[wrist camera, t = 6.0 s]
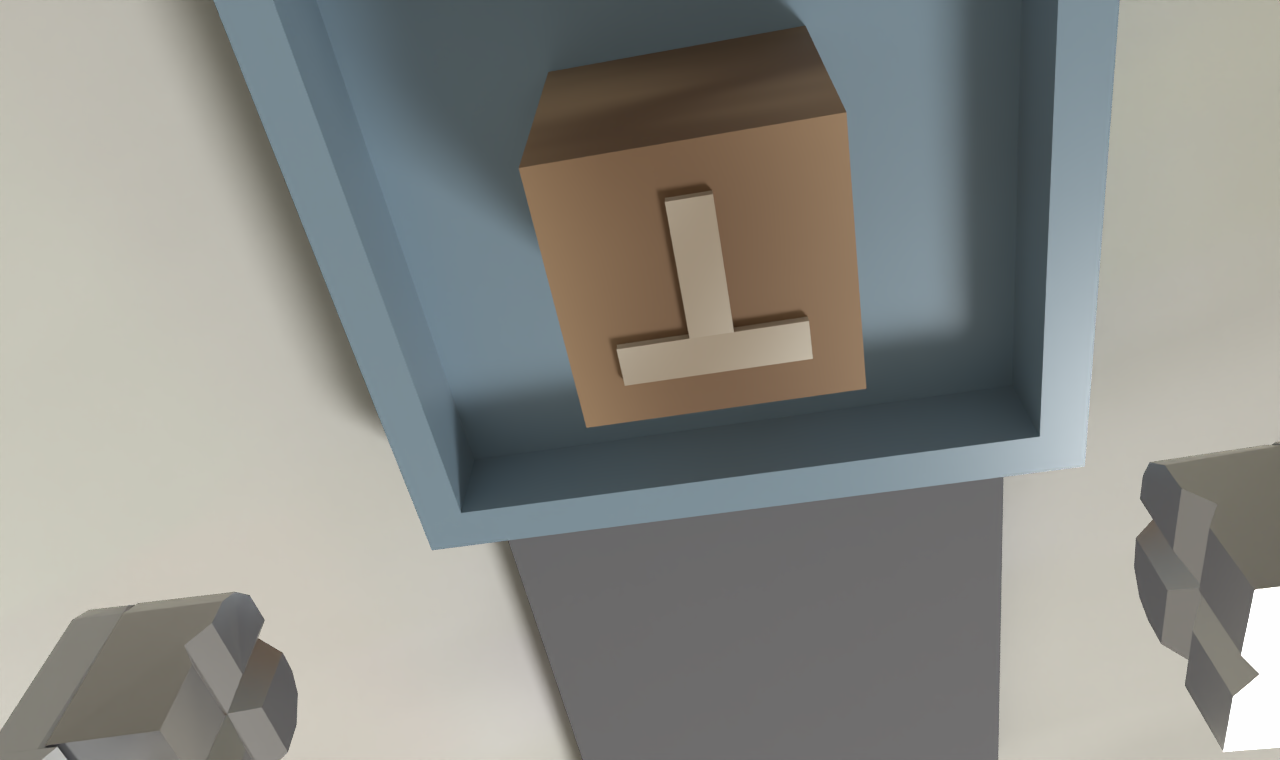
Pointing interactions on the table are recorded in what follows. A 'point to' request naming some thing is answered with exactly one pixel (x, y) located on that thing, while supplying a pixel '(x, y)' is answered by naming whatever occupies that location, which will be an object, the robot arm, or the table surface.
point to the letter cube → (698, 227)
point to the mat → (781, 629)
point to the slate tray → (519, 289)
